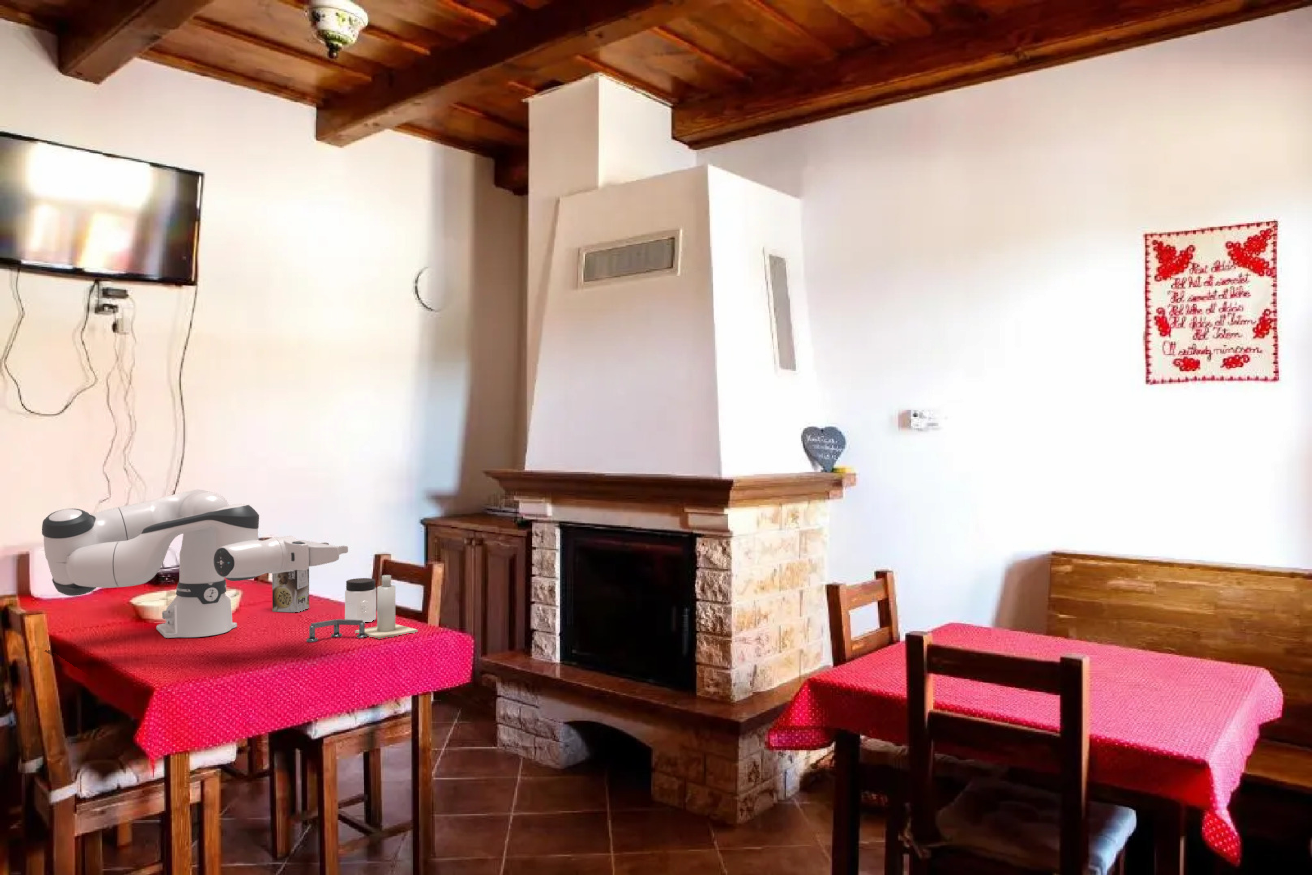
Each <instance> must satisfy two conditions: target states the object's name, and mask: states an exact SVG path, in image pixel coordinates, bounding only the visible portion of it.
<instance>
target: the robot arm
mask: <svg viewBox="0 0 1312 875" xmlns="http://www.w3.org/2000/svg"><path fill="white" fill-rule="evenodd" d="M259 523H260V514H259V513H258V512H257V510H255V509H254V508H253V507H252V506H251V505H250V504H245V503H236V504H235V503H234V504H229V502H228V501H227V499H226V498H225V497H223V496H222V495H221V494H219V493H217V492H212V491H208V490H203V489H192V490H188V491H183V492H179V493H175V494H172V495H166V496H163V497H158V498H156V499H152V500H148V501H142V502H139V503H132V504H127V505H122V506H118V507H112V508H109V509H106V510H101V511H98V512H95V513H92V514H90V512H88V511H85V510H83V509H80V508H65V509H60V510H56V511H54V512H51V513H49V515H47V517H45V518H44V519H43V520H42V526H41V535H42V536H43V550H44V555H45V559H46V562H47V564H48V568H49V571H50V574H51V577H52V579H51V581H52V584H53V586H54V588H55V590H57V592H58V593H61V594H62V595H64V596H70V597H74V596H76V597H77V596H83V595H86V594H88V593H91V592H93V591H95V590H96V589H97V588H101V589H102V588H106V589H107V588H125V587H133V586H139V585H143V584H146V583H148V582H149V581H151V580H152V579H154V577H155V576H156V575H157V573H158V572H159V571H160V570H161V568H162V566H163V563H164V561H165V559H166V555H167V553H168V551H169V548H170V546H171V544H172V542H173V541H174V540H175V539H176V538H177V537H178V536H180V535H182V541H181V547H180V551H179V563H178V564H179V569H178V570H179V574H178V575H179V580H178V582H177V586H176V588H175V589H176V593H175V595H176V596H175V598H173V600H172V601H171V602H170V604H169V605H167V607H166V610H162V612H161V614H162V615H161V616H162V620H165V622H164V623H159V624H157V625H156V630H157V631H158V632H159V633H160V635H162V636H163V637H164V638H165V639H166V638H167V639H169V638H200V637H209V636H216V635H217V636H218V635H222V634H224V633H227V632H230V631H231V630H232V629H234V628H237V627H238V623H237V622H233V613H232V612H233V611H232V602H231V601H232V600H231V597H229V596H227V595H226V592H227V581H231V582H239V581H246V580H253V579H255V578H256V577H259V576H262V575H264V574H272V573H273V574H274V573H282V572H289V571H295V570H307V569H309V570H310V567H316V566H321V565H326V564H331V563H334V562H337V561H339V559H340V555H342V554H343V555H344V554H347V553H348V552H349V547H348V546H347V545H338V546H337V545H333V544H330V543H329V542H316V541H315V542H314V541H310V540H304V539H296V537H295V536H294V535H285V536H278V537H270V538H267V539H265V540H259V526H260V525H259Z"/></svg>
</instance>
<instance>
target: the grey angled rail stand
mask: <svg viewBox="0 0 1312 875" xmlns="http://www.w3.org/2000/svg"><path fill="white" fill-rule="evenodd" d="M330 626H333V633H330V634H331V635H330V637H331V638H332V637H339V638H342V637H343V633H341V632H340V626H358V630H359V634H357V635H355V636H356V637H358V638H363V637H367V634H365V628H366V627H365V626H366V623H365V622H363V620H348V619H345V618H343V619H341V618H337V619H336V618H335V619H330V620H323V621H317V622H312V623H310V625H309V628H308V631H309V634H308V638H306V643H316V642H318V641H319V640H318V639H319V638H318V637H316V629H318V628H325V627H330ZM341 636H342V637H341ZM356 637H355V638H356ZM358 638H357V639H358ZM367 638H368V637H367ZM363 639H364V638H363Z"/></svg>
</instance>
